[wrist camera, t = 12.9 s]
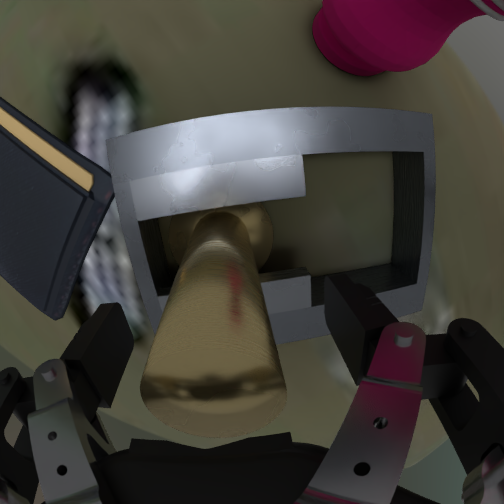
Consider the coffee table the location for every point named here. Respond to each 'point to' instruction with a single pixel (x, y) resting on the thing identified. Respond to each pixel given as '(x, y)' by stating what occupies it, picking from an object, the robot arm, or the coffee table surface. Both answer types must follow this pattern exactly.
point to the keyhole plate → (275, 196)
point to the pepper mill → (391, 31)
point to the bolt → (216, 328)
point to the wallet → (46, 211)
